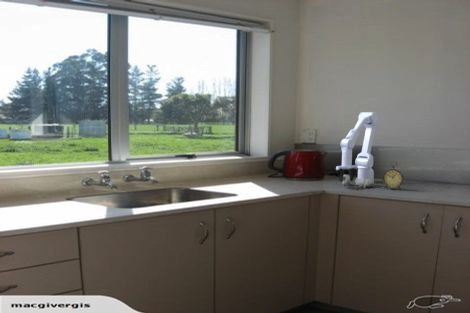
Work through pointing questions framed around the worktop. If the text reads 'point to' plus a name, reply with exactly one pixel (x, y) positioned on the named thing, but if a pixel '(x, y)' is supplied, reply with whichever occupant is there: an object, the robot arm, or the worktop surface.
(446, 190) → the worktop surface
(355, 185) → the duct socket
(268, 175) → the worktop surface
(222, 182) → the worktop surface
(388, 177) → the alarm clock
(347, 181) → the collar
